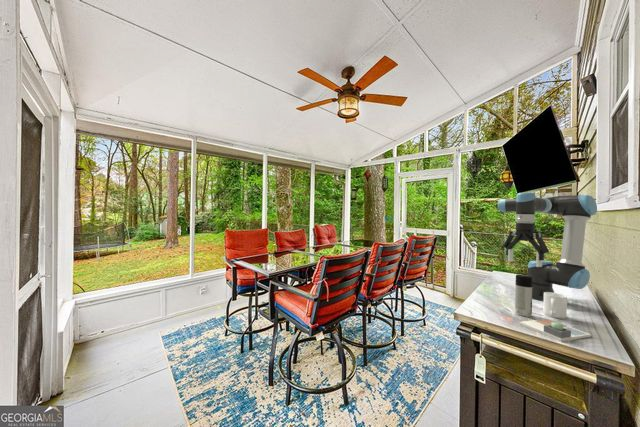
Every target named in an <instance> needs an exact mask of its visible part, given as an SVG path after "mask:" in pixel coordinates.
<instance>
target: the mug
mask: <svg viewBox="0 0 640 427" xmlns="http://www.w3.org/2000/svg"><path fill="white" fill-rule="evenodd" d="M542 304H543V312H542V313H544V314H545V315H546V316H548V317H551V318H555V319H560V320H561V319H566V318H567V316H568V312H567V310H568V308H567V307H568V296H567V295H564V294H561V293H557V292H554V293H552V292H544V301H543V303H542Z"/></svg>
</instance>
